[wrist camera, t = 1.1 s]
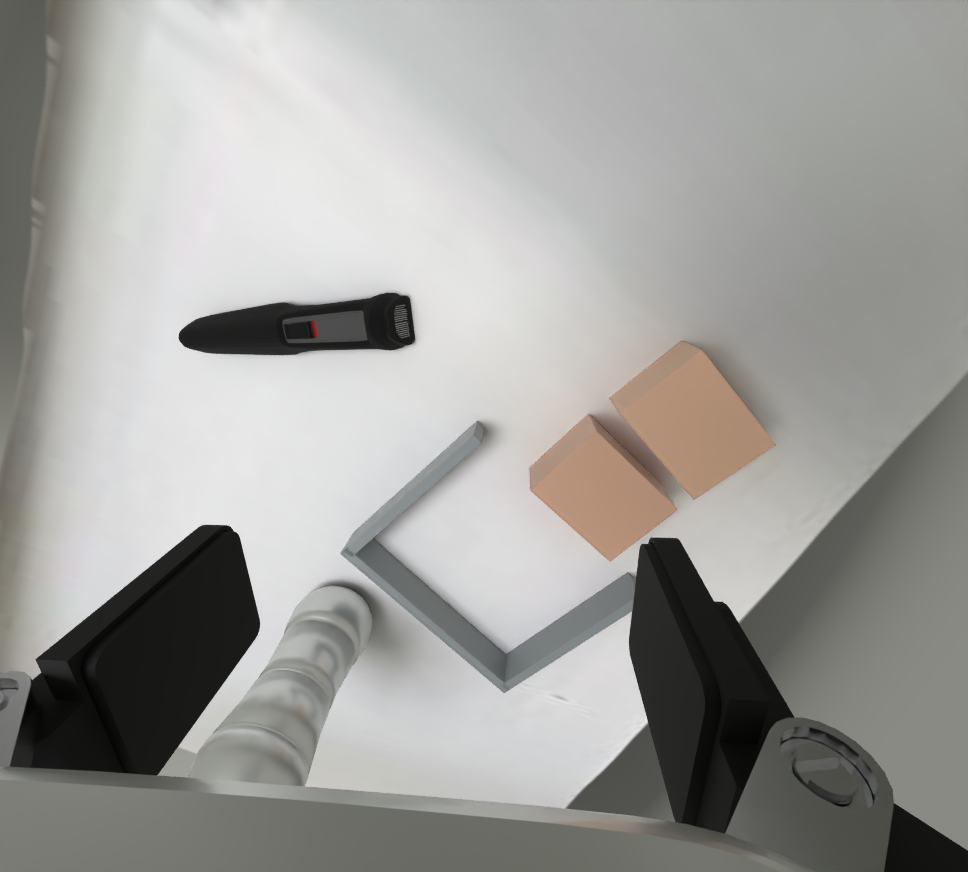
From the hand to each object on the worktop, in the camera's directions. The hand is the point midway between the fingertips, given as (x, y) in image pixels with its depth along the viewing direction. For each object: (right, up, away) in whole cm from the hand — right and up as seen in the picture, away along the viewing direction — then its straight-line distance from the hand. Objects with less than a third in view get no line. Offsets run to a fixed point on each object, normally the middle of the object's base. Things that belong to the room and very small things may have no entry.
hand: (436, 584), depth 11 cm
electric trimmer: (-11, +11, +22) cm, 27 cm away
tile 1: (+10, +1, +24) cm, 26 cm away
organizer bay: (+2, -6, +27) cm, 28 cm away
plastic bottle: (-12, -12, +30) cm, 34 cm away
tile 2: (+15, +5, +22) cm, 27 cm away
